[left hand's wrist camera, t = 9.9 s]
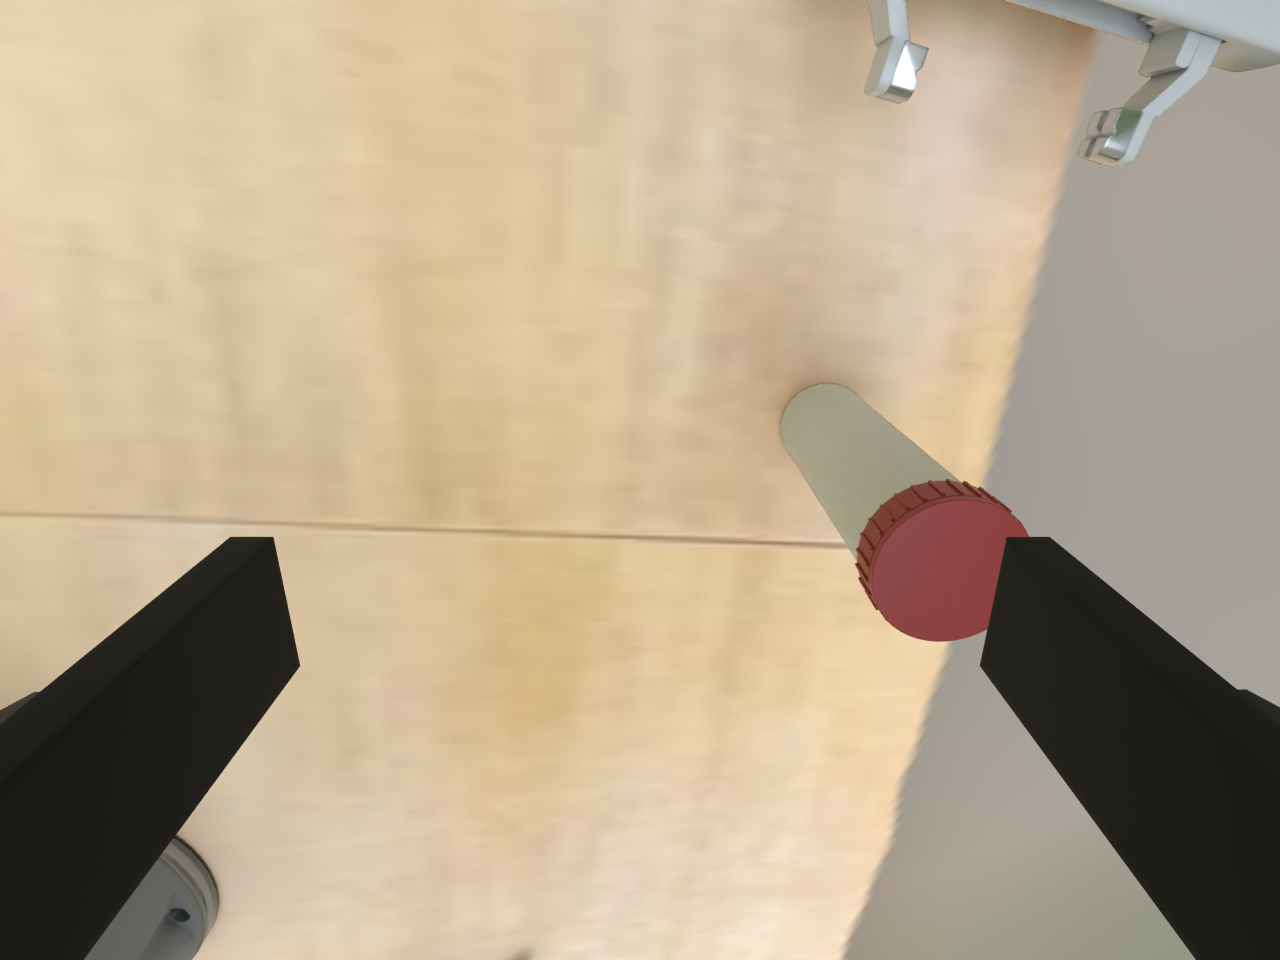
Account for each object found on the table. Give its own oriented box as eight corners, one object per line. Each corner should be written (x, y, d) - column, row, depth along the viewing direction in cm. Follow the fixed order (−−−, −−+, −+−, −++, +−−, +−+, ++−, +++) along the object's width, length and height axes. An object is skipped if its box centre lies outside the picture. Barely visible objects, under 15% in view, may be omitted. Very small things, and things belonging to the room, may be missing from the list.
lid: (952, 446, 24) (976, 464, 22) (1039, 553, 25) (1067, 576, 24) (823, 546, 25) (836, 570, 24) (912, 642, 27) (931, 671, 25)
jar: (831, 364, 39) (967, 472, 23) (884, 427, 40) (1046, 570, 24) (762, 423, 40) (846, 564, 24) (815, 482, 41) (928, 652, 25)
